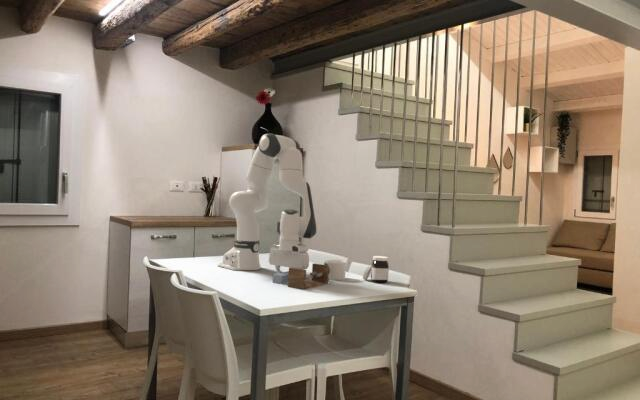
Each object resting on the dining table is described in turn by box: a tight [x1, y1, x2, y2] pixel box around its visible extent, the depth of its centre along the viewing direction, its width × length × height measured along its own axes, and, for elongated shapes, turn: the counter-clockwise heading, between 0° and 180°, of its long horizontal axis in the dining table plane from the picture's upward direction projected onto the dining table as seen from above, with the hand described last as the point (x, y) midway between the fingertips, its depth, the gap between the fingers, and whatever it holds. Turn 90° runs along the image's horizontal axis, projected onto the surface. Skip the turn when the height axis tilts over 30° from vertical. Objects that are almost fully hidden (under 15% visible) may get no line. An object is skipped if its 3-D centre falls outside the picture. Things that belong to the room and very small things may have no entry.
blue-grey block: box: [272, 270, 289, 285], centre depth 235 cm, size 14×5×4 cm, turn 146°
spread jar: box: [362, 255, 390, 284], centre depth 245 cm, size 12×11×12 cm
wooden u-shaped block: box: [287, 263, 330, 290], centre depth 228 cm, size 19×8×8 cm, turn 146°
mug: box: [323, 258, 347, 281], centre depth 250 cm, size 13×10×8 cm
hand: (287, 276), depth 235 cm, fingers open, 8 cm apart
